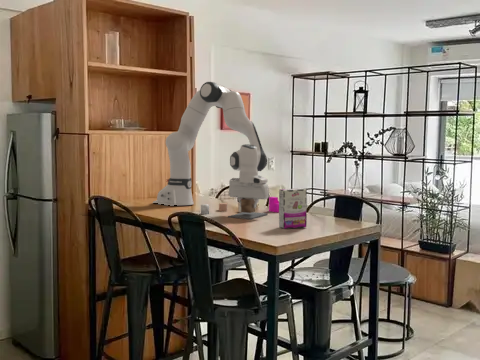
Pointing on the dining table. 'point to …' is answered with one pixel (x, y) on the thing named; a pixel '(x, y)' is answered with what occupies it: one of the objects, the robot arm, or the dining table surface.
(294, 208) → the candy bar box
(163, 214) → the dining table surface
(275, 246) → the dining table surface
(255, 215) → the mat
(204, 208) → the grey cylinder
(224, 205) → the terracotta cube
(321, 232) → the dining table surface
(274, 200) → the toy block
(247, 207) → the walnut block
